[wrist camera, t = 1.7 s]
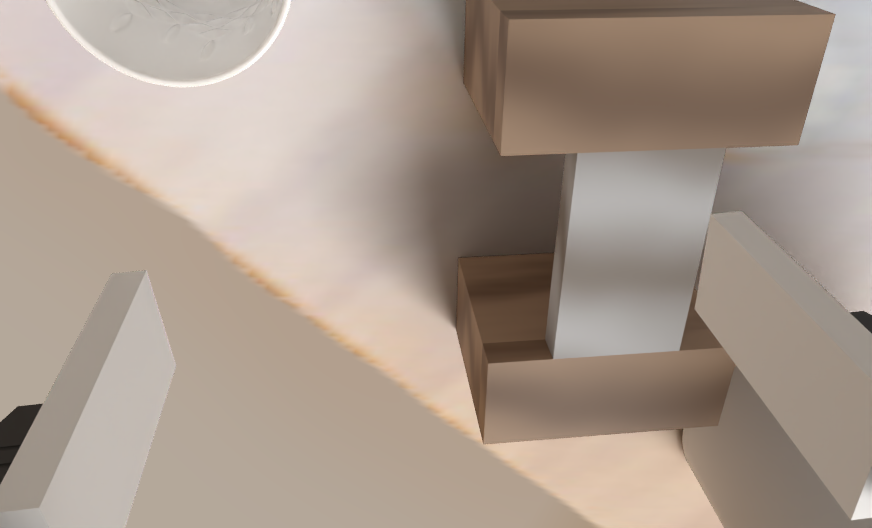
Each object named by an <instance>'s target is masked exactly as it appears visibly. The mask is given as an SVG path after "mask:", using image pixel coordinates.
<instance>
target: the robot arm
mask: <svg viewBox="0 0 872 528" xmlns="http://www.w3.org/2000/svg"><path fill="white" fill-rule="evenodd" d="M695 310H696V312H697V313H698V314H699V316H700V317H701V318H702V320H703V321H704V322H705V324H706V325H707V327H708V328H709V329H710V331H711V332H712V333H713V335H714V336H715V337H716V339H717V340H718V341H719V343H720V344H721V345H722V347H723V348H724V349H725V351H726V352H727V354H728V355H729V356H730V358H731V359H732V360H733V362H734V363H735V364H736V366H737V367H738V368H739V370H740V371H741V372H742V374H743V375H744V376H745V378H746V379H747V381H748V382H749V383H750V385H751V386H752V387H753V389H754V390H755V391H756V393H757V394H758V395H759V397H760V398H761V399H762V401H763V402H764V404H765V405H766V406H767V408H768V409H769V410H770V412H771V413H772V414H773V416H774V417H775V418H776V420H777V421H778V422H779V424H780V425H781V426H782V428H783V429H784V431H785V432H786V433H787V435H788V436H789V437H790V439H791V440H792V441H793V443H794V444H795V445H796V447H797V448H798V449H799V451H800V452H801V454H802V455H803V456H804V458H805V459H806V460H807V462H808V463H809V464H810V466H811V467H812V468H813V470H814V471H815V472H816V474H817V475H818V476H819V478H820V479H821V481H822V482H823V483H824V485H825V486H826V487H827V489H828V490H829V491H830V493H831V494H832V495H833V497H834V498H835V499H836V501H837V502H838V503H839V505H840V506H841V508H842V509H843V510H844V512H845V513H846V514H847V516H848V517H849V518H850V520H857V519H865V518H872V315H870V314H868V313H867V312H865V311H859V312H850V313H849V312H848V311H847V310H846V309H845V308H844V307H843V306H842V305H841V304H840V303H839V302H838V301H837V300H836V299H835V298H833V297H832V296H831V295H830V294H829V293H828V292H827V291H826V290H825V289H824V288H823V287H822V286H821V285H820V284H819V283H818V282H817V281H815V280H814V279H813V278H812V277H811V276H810V275H809V274H808V273H807V272H806V271H805V270H804V269H803V268H802V267H801V266H800V265H799V264H797V263H796V262H795V261H794V260H793V259H792V258H791V257H790V256H789V255H788V254H787V253H786V252H785V251H784V250H783V249H782V248H781V247H779V246H778V245H777V244H776V243H775V242H774V241H773V240H772V239H771V238H770V237H769V236H768V235H767V234H766V233H765V232H764V231H763V230H761V229H760V228H759V227H758V226H757V225H756V224H755V223H754V222H753V221H752V220H751V219H750V218H749V217H748V216H747V215H746V214H745V213H743V212H742V211H735V212H725V213H715V214H711V215H710V221H709V227H708V233H707V238H706V244H705V250H704V256H703V262H702V268H701V274H700V280H699V286H698V292H697V298H696V304H695ZM175 368H176V363H175V360H174V357H173V354H172V350H171V347H170V344H169V341H168V338H167V334H166V331H165V328H164V325H163V321H162V318H161V315H160V312H159V308H158V305H157V302H156V299H155V295H154V293H153V289H152V286H151V283H150V279H149V276H148V273H147V270H142V271H132V272H122V273H112V274H111V276H110V278H109V280H108V282H107V283H106V285H105V287H104V289H103V291H102V293H101V295H100V297H99V299H98V301H97V302H96V304H95V306H94V308H93V310H92V312H91V314H90V316H89V318H88V320H87V321H86V323H85V325H84V327H83V329H82V331H81V333H80V335H79V337H78V338H77V340H76V342H75V344H74V346H73V348H72V350H71V352H70V354H69V355H68V357H67V359H66V361H65V363H64V365H63V367H62V369H61V371H60V373H59V375H58V376H57V378H56V380H55V382H54V384H53V386H52V388H51V390H50V391H49V393H48V396H47V397H46V399H45V401H44V403H43V404H36V405H27V406H18V407H17V408H16V409H14V410H13V411H12V412H11V413H10V414H9V415H8V416H7V417H6V418H5V419H3V420H2V421H1V422H0V528H125V526H126V523H127V520H128V517H129V514H130V510H131V507H132V504H133V501H134V498H135V494H136V491H137V488H138V485H139V482H140V478H141V475H142V472H143V469H144V466H145V463H146V459H147V456H148V453H149V450H150V447H151V444H152V440H153V437H154V434H155V431H156V428H157V425H158V421H159V418H160V415H161V412H162V409H163V405H164V402H165V399H166V396H167V393H168V390H169V386H170V383H171V380H172V377H173V374H174V371H175Z"/></svg>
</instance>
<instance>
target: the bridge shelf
mask: <svg viewBox="0 0 872 528" xmlns="http://www.w3.org/2000/svg"><path fill="white" fill-rule="evenodd" d="M835 15H836V14H833V13H831V12H828V11H825V10H822V9H819V8H816V7H814V6H811V5H808V4H805V3H802V2H799V1H797V0H466V8H465V42H464V77H463V83H464V85H465V87H466V89H467V91H468V93H469V95H470V97H471V99H472V101H473V103H474V105H475V107H476V109H477V111H478V113H479V114H480V116H481V118H482V120H483V122H484V124H485V126H486V128H487V130H488V132H489V134H490V136H491V138H492V140H493V142H494V144H495V146H496V148H497V150H498V152H499V154H500V156H515V155H542V154H565V161H564V170H563V180H562V189H561V198H560V207H559V216H558V225H557V235H556V244H555V253H542V254H523V255H503V256H484V257H464V258H458V282H457V317H456V331H457V335H458V340H459V344H460V348H461V352H462V356H463V361H464V365H465V369H466V373H467V377H468V382H469V386H470V390H471V394H472V398H473V403H474V407H475V411H476V415H477V419H478V423H479V428H480V432H481V436H482V440H483V444H495V443H507V442H520V441H532V440H545V439H558V438H570V437H583V436H596V435H608V434H621V433H633V432H646V431H659V430H671V429H684V428H696V427H709V426H718V424H719V420H720V417H721V413H722V410H723V406H724V403H725V399H726V396H727V392H728V389H729V385H730V382H731V378H732V375H733V371H734V368H735V363H734V362H733V360H732V359H731V358H730V356H729V355H728V354H727V352H726V351H725V349H724V348H723V347H722V345H721V344H720V343H719V341H718V340H717V339H716V337H715V336H714V335H713V333H712V332H711V331H710V329H709V328H708V327H707V325H706V324H705V322H704V321H703V320H702V318H701V317H700V316H699V314H698V313H697V312H696V310H695V304H696V298H697V291H696V290H695V288H694V285H695V281H696V276H697V272H698V268H699V263H700V259H701V255H702V251H703V246H704V242H705V238H706V233H707V229H708V225H709V220H710V215H711V212H712V207H713V203H714V199H715V194H716V190H717V186H718V181H719V177H720V173H721V168H722V164H723V160H724V156H725V151H726V148H734V147H762V146H789V145H798V144H799V141H800V137H801V134H802V130H803V127H804V123H805V120H806V116H807V113H808V109H809V106H810V102H811V99H812V95H813V92H814V88H815V85H816V81H817V78H818V74H819V71H820V67H821V64H822V60H823V57H824V53H825V50H826V46H827V43H828V39H829V36H830V32H831V29H832V25H833V22H834V18H835Z"/></svg>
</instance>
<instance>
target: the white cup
mask: <svg viewBox="0 0 872 528" xmlns="http://www.w3.org/2000/svg"><path fill="white" fill-rule="evenodd" d="M45 1H46V3H47V4H48V6H49V8H50V9H51V11H52V12H53V14H54V15H55V17H56V18H57V19H58V21H59V22H60V23H61V25H62V26H63V27H64V28H65V29H66V31H67V32H68V33H69V34H70V35H71V36H72V37H73V38H74V39H75V40H76V41H77V42H78V43H79V44H80V45H81V46H82V47H83V48H85V49H86V50H87V51H88V52H89V53H91V54H92V55H93V56H95V57H96V58H97V59H99V60H100V61H102V62H103V63H105V64H107V65H108V66H110V67H112V68H113V69H115V70H117V71H119V72H121V73H123V74H126V75H128V76H130V77H133V78H136V79H138V80H141V81H145V82H148V83H152V84H157V85H163V86H170V87H195V86H203V85H208V84H213V83H216V82H220V81H223V80H225V79H228V78H230V77H232V76H234V75H236V74H238V73H240V72H242V71H243V70H245V69H246V68H248V67H249V66H251V65H252V64H253V63H255V62H256V61H257V60H258V59H259V58H260V57H261V56H262V55H263V54H264V53H265V52H266V51H267V50H268V49H269V47H270V46H271V45H272V43H273V42H274V41H275V39H276V38H277V36H278V34H279V33H280V31H281V29H282V27H283V25H284V23H285V20H286V18H287V15H288V12H289V9H290V6H291V2H292V0H45Z"/></svg>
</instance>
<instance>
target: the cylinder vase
mask: <svg viewBox="0 0 872 528" xmlns="http://www.w3.org/2000/svg"><path fill="white" fill-rule="evenodd" d="M682 444H683V451H684V455H685V458H686V460H687V462H688V464H689V466H690V468H691V469H692V471H693V473H694V475H695V477H696V478H697V480H698V482H699V484H700V485H701V487H702V489H703V491H704V493H705V494H706V496H707V498H708V500H709V502H710V503H711V505H712V507H713V509H714V511H715V512H716V514H717V516H718V518H719V520H720V521H721V523H722V525H723V527H724V528H872V518H865V519H857V520H850V518H849V517H848V516H847V514H846V513H845V512H844V510H843V509H842V508H841V506H840V505H839V503H838V502H837V501H836V499H835V498H834V497H833V495H832V494H831V493H830V491H829V490H828V489H827V487H826V486H825V485H824V483H823V482H822V481H821V479H820V478H819V476H818V475H817V474H816V472H815V471H814V470H813V468H812V467H811V466H810V464H809V463H808V462H807V460H806V459H805V458H804V456H803V455H802V454H801V452H800V451H799V449H798V448H797V447H796V445H795V444H794V443H793V441H792V440H791V439H790V437H789V436H788V435H787V433H786V432H785V431H784V429H783V428H782V426H781V425H780V424H779V422H778V421H777V420H776V418H775V417H774V416H773V414H772V413H771V412H770V410H769V409H768V408H767V406H766V405H765V404H764V402H763V401H762V399H761V398H760V397H759V395H758V394H757V393H756V391H755V390H754V389H753V387H752V386H751V385H750V383H749V382H748V381H747V379H746V378H745V376H744V375H743V374H742V372H741V371H740V370H739V368H738V367H737V366H735V368H734V371H733V375H732V378H731V382H730V385H729V389H728V392H727V396H726V399H725V403H724V406H723V410H722V413H721V417H720V420H719V424H718V426H709V427H696V428H684V429H683V436H682Z"/></svg>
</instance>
